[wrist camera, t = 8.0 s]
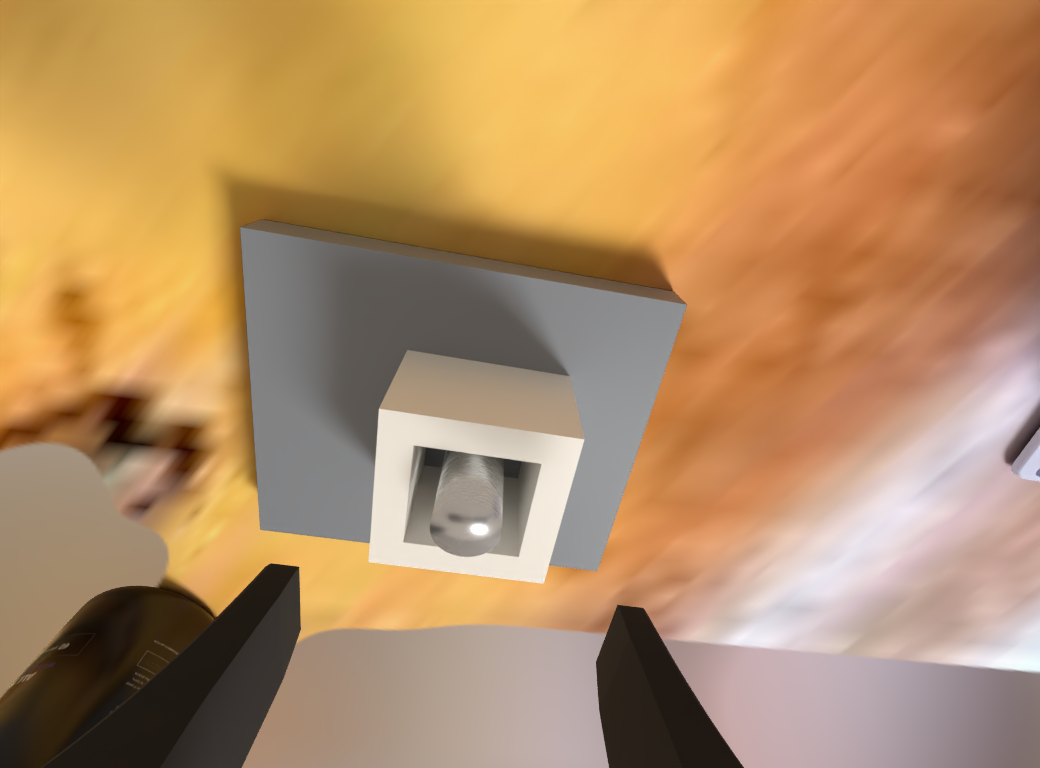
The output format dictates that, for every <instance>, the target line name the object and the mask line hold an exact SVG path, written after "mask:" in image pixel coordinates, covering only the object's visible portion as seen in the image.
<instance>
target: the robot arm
mask: <svg viewBox="0 0 1040 768" xmlns="http://www.w3.org/2000/svg"><path fill="white" fill-rule="evenodd" d="M1012 472H1013V473H1014V474H1015V475H1017V476H1018V477H1020V478H1022V479H1027V480H1033V481H1040V428H1039V429H1038V430H1037V432H1036V433H1035V434H1034V436H1033V437H1032V438H1031V440H1030V441H1029V443H1028V444H1027V445H1026V447H1025V448H1024V449H1023V451H1022V452H1021V453H1020V455H1019V456H1018V457H1017V459H1016V460H1015V461H1014V463H1013V465H1012ZM300 630H301V625H300V582H299V567H296V566H288V565H279V564H269V565H268V566H266V567H265V568H264V569H263V570H262V571H261V572H260V573H259V574H258V575H257V576H256V578H255V579H254V580H253V581H252V582H251V583H250V584H249V585H248V586H247V587H246V588H245V589H244V590H243V591H242V592H241V593H240V594H239V595H238V596H237V597H236V598H235V599H234V600H233V602H232V603H231V604H230V605H229V606H228V607H227V608H226V609H225V610H224V611H223V612H222V613H221V614H220V615H219V616H218V617H217V618H216V619H215V620H214V621H212V622H211V623H210V624H209V625H208V626H207V627H206V628H205V629H204V630H203V631H202V632H201V633H200V634H199V635H198V636H197V637H196V638H195V639H194V640H193V641H192V642H191V643H189V644H188V645H187V646H186V647H185V648H184V649H183V650H182V651H181V652H180V653H179V654H178V655H177V656H176V657H175V658H173V659H172V660H171V661H170V662H169V663H168V664H167V665H166V666H164V667H163V668H162V669H161V670H160V671H159V672H158V673H156V674H155V675H154V676H153V677H152V678H151V679H150V680H149V681H147V682H146V683H145V684H144V685H143V686H142V687H141V688H140V689H138V690H137V691H136V692H135V693H134V694H133V695H131V696H130V697H129V698H128V699H127V700H126V701H124V702H123V703H122V704H121V705H120V706H118V707H117V708H116V709H115V710H114V711H112V712H111V713H110V714H109V715H107V716H106V717H105V718H104V719H103V720H101V721H100V722H99V723H98V724H96V725H95V726H94V727H93V728H91V729H90V730H89V731H87V732H86V733H85V734H84V735H82V736H81V737H80V738H79V739H77V740H76V741H75V742H74V743H72V744H71V745H70V746H68V747H67V748H66V749H64V750H63V751H62V752H60V753H59V754H58V755H56V756H55V757H54V758H52V759H51V760H50V761H48V762H47V763H46V764H44V765H43V766H42V767H40V768H242V766H243V763H244V761H245V759H246V757H247V755H248V753H249V751H250V749H251V747H252V744H253V742H254V740H255V738H256V736H257V734H258V732H259V729H260V728H261V725H262V723H263V721H264V719H265V717H266V715H267V713H268V711H269V708H270V706H271V704H272V702H273V700H274V698H275V696H276V694H277V691H278V689H279V687H280V685H281V683H282V680H283V678H284V675H285V672H286V670H287V667H288V664H289V662H290V659H291V656H292V653H293V650H294V647H295V644H296V642H297V639H298V636H299V633H300ZM596 668H597V685H598V697H599V710H600V716H601V723H602V729H603V734H604V741H605V746H606V752H607V758H608V763H609V768H744V767H743V766H742V764H741V763H740V762H739V760H738V759H737V758H736V756H735V755H734V753H733V752H732V750H731V749H730V747H729V746H728V744H727V743H726V742H725V740H724V739H723V737H722V736H721V735H720V733H719V731H718V730H717V728H716V727H715V725H714V724H713V723H712V721H711V719H710V718H709V716H708V715H707V714H706V712H705V710H704V709H703V707H702V705H701V704H700V702H699V701H698V699H697V698H696V696H695V694H694V693H693V691H692V690H691V688H690V686H689V685H688V683H687V682H686V680H685V678H684V677H683V675H682V673H681V672H680V670H679V668H678V667H677V665H676V663H675V662H674V660H673V658H672V656H671V655H670V653H669V651H668V650H667V648H666V646H665V645H664V643H663V641H662V639H661V637H660V636H659V634H658V632H657V630H656V629H655V627H654V625H653V623H652V622H651V620H650V618H649V616H648V615H647V613H646V611H645V610H644V609H643V608H639V607H630V606H622V605H617V608H616V611H615V613H614V616H613V619H612V621H611V624H610V626H609V629H608V632H607V634H606V637H605V640H604V643H603V645H602V648H601V650H600V653H599V656H598V658H597V661H596Z"/></svg>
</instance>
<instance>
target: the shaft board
mask: <svg viewBox="0 0 1040 768" xmlns="http://www.w3.org/2000/svg"><path fill="white" fill-rule="evenodd" d="M240 233H241V248H242V263H243V278H244V293H245V308H246V323H247V338H248V353H249V368H250V383H251V398H252V413H253V428H254V443H255V458H256V473H257V488H258V503H259V518H260V530H267V531H275V532H283V533H291V534H299V535H307V536H315V537H324V538H332V539H340V540H348V541H356V542H364V543H370V535H371V520H372V505H373V490H374V475H375V460H376V445H377V430H378V415H379V407H380V405H381V403H382V401H383V399H384V397H385V395H386V393H387V391H388V389H389V387H390V385H391V383H392V381H393V379H394V377H395V374H396V372H397V370H398V368H399V366H400V364H401V362H402V360H403V358H404V356H405V354H406V352H407V350H411V351H417V352H423V353H429V354H435V355H442V356H448V357H454V358H460V359H466V360H472V361H479V362H485V363H491V364H497V365H503V366H510V367H516V368H522V369H528V370H534V371H540V372H547V373H553V374H559V375H565V376H570V378H571V383H572V387H573V391H574V396H575V400H576V404H577V409H578V413H579V418H580V422H581V426H582V431H583V435H584V443H583V447H582V450H581V454H580V457H579V461H578V464H577V468H576V471H575V475H574V478H573V482H572V485H571V489H570V492H569V496H568V499H567V503H566V507H565V510H564V514H563V517H562V521H561V524H560V528H559V531H558V535H557V538H556V542H555V545H554V549H553V552H552V556H551V559H550V563H549V565H551V566H560V567H568V568H576V569H584V570H592V571H597V570H598V567H599V565H600V562H601V559H602V556H603V553H604V550H605V547H606V544H607V541H608V538H609V535H610V532H611V529H612V526H613V523H614V520H615V517H616V514H617V511H618V508H619V505H620V502H621V499H622V496H623V493H624V490H625V487H626V484H627V482H628V479H629V476H630V473H631V470H632V467H633V464H634V461H635V458H636V455H637V452H638V449H639V446H640V443H641V440H642V437H643V434H644V431H645V428H646V425H647V422H648V419H649V416H650V413H651V410H652V407H653V404H654V401H655V398H656V396H657V393H658V390H659V387H660V384H661V381H662V378H663V375H664V372H665V369H666V366H667V363H668V360H669V357H670V354H671V351H672V348H673V345H674V342H675V339H676V336H677V333H678V330H679V327H680V324H681V321H682V318H683V315H684V312H685V310H686V307H687V304H686V303H685V302H684V301H683V300H682V299H681V298H680V297H679V296H678V295H677V294H676V293H675V292H674V291H668V290H663V289H657V288H651V287H646V286H640V285H634V284H628V283H623V282H617V281H611V280H606V279H600V278H594V277H589V276H583V275H577V274H571V273H566V272H560V271H554V270H549V269H543V268H537V267H531V266H526V265H520V264H514V263H509V262H503V261H497V260H492V259H486V258H480V257H474V256H469V255H463V254H457V253H452V252H446V251H440V250H435V249H429V248H423V247H417V246H412V245H406V244H400V243H395V242H389V241H383V240H378V239H372V238H366V237H360V236H355V235H349V234H343V233H338V232H332V231H326V230H320V229H315V228H309V227H303V226H298V225H292V224H286V223H281V222H275V221H269V220H263V219H262V220H259V221H256V222H253V223H251V224H248V225H245V226H242V227H240ZM521 462H522V461H518V460H511V459H505V458H498V457H491V456H484V455H477V454H470V453H463V452H456V451H449V450H442V449H436V448H429V447H426V452H425V461H424V465H426V466H433V467H440V468H442V471H441V476H440V480H439V485H438V490H437V494H436V499H435V504H434V508H433V513H432V518H431V523H430V534H431V537H432V539H433V541H434V542H435V543H436V545H437V546H438V547H440V548H441V549H442V550H444V551H445V552H447V553H450V554H452V555H456V556H461V557H473V556H479V555H482V554H485V553H487V552H488V551H490V550H492V549H493V548H494V547H495V546H496V545H497V544H498V542H499V540H500V538H501V535H502V516H503V483H504V477H511V478H518V476H519V471H520V467H521Z"/></svg>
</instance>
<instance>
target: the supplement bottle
mask: <svg viewBox="0 0 1040 768" xmlns="http://www.w3.org/2000/svg"><path fill="white" fill-rule="evenodd" d="M214 620H215V619H214V618H213V617H212V616H211V615H210V614H209V613H208V612H207V611H206V610H205V609H204V608H202V607H201V606H200V605H198V604H197V603H195V602H193V601H192V600H190V599H188V598H186V597H184V596H182V595H179V594H177V593H174V592H171V591H168V590H164V589H160V588H155V587H148V586H126V587H120V588H115V589H112V590H109V591H106V592H103V593H101V594H99V595H97V596H96V597H94V598H92V599H91V600H90V601H88V602H87V603H86V604H85V605H84V606H83V607H82V608H81V609H80V610H79V611H78V612H77V613H76V614H75V616H74V617H73V618H72V619H71V620H70V621H69V622H68V623H67V624H66V625H65V626H64V627H63V628H62V630H61V631H60V632H59V633H58V634H57V635H56V636H55V637H54V638H53V639H52V641H51V642H50V643H49V644H48V645H47V646H46V647H45V648H44V650H43V651H42V652H41V653H40V654H39V655H38V656H37V657H36V658H35V659H34V661H33V662H32V663H31V664H30V665H29V666H28V667H27V668H26V669H25V670H24V672H23V673H22V674H21V675H20V676H19V677H18V678H17V679H16V680H15V681H14V683H13V684H12V685H11V686H10V687H9V688H8V689H7V690H6V692H5V693H4V694H3V695H2V696H1V697H0V768H40V767H42V766H43V765H44V764H46V763H47V762H48V761H50V760H51V759H52V758H54V757H55V756H56V755H58V754H59V753H60V752H62V751H63V750H64V749H66V748H67V747H68V746H70V745H71V744H72V743H74V742H75V741H76V740H77V739H79V738H80V737H81V736H82V735H84V734H85V733H86V732H87V731H89V730H90V729H91V728H93V727H94V726H95V725H96V724H98V723H99V722H100V721H101V720H103V719H104V718H105V717H106V716H107V715H109V714H110V713H111V712H112V711H114V710H115V709H116V708H117V707H118V706H120V705H121V704H122V703H123V702H124V701H126V700H127V699H128V698H129V697H130V696H131V695H133V694H134V693H135V692H136V691H137V690H138V689H140V688H141V687H142V686H143V685H144V684H145V683H146V682H147V681H149V680H150V679H151V678H152V677H153V676H154V675H155V674H156V673H158V672H159V671H160V670H161V669H162V668H163V667H164V666H166V665H167V664H168V663H169V662H170V661H171V660H172V659H173V658H175V657H176V656H177V655H178V654H179V653H180V652H181V651H182V650H183V649H184V648H185V647H186V646H187V645H188V644H189V643H191V642H192V641H193V640H194V639H195V638H196V637H197V636H198V635H199V634H200V633H201V632H202V631H203V630H204V629H205V628H206V627H207V626H208V625H209V624H210V623H211V622H212V621H214Z"/></svg>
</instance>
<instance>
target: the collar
mask: <svg viewBox="0 0 1040 768" xmlns="http://www.w3.org/2000/svg"><path fill="white" fill-rule="evenodd" d="M583 443H584V435H583V431H582V426H581V422H580V418H579V413H578V409H577V404H576V400H575V396H574V391H573V387H572V383H571V378H570V376H565V375H559V374H553V373H547V372H540V371H534V370H528V369H522V368H516V367H510V366H503V365H497V364H491V363H485V362H479V361H472V360H466V359H460V358H454V357H448V356H442V355H435V354H429V353H423V352H417V351H411V350H407V352H406V354H405V356H404V358H403V360H402V362H401V364H400V366H399V368H398V370H397V372H396V374H395V377H394V379H393V381H392V383H391V385H390V387H389V389H388V391H387V393H386V395H385V397H384V399H383V401H382V403H381V405H380V407H379V415H378V430H377V445H376V460H375V475H374V490H373V505H372V520H371V535H370V550H369V562H372V563H381V564H389V565H397V566H405V567H413V568H421V569H429V570H437V571H445V572H454V573H462V574H470V575H478V576H486V577H494V578H502V579H510V580H519V581H527V582H535V583H543V584H544V581H545V577H546V574H547V570H548V566H549V563H550V559H551V556H552V552H553V549H554V545H555V542H556V538H557V535H558V531H559V528H560V524H561V521H562V517H563V514H564V510H565V507H566V503H567V499H568V496H569V492H570V489H571V485H572V482H573V478H574V475H575V471H576V468H577V464H578V461H579V457H580V454H581V450H582V447H583ZM426 447H429V448H436V449H442V450H449V451H456V452H463V453H470V454H477V455H484V456H491V457H498V458H505V459H511V460H518V461H522V462H521V467H520V471H519V476H518V478H511V477H504V483H503V516H502V535H501V538H500V540H499V542H498V544H497V545H496V546H495V547H494V548H493V549H492V550H490V551H488V552H487V553H485V554H482V555H479V556H473V557H461V556H456V555H452V554H450V553H447V552H445V551H444V550H442V549H441V548H440V547H438V546H437V545H436V543H435V542H434V541H433V539H432V537H431V534H430V523H431V518H432V513H433V508H434V504H435V499H436V494H437V490H438V485H439V480H440V476H441V471H442V468H440V467H433V466H426V465H424V461H425V452H426Z"/></svg>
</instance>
